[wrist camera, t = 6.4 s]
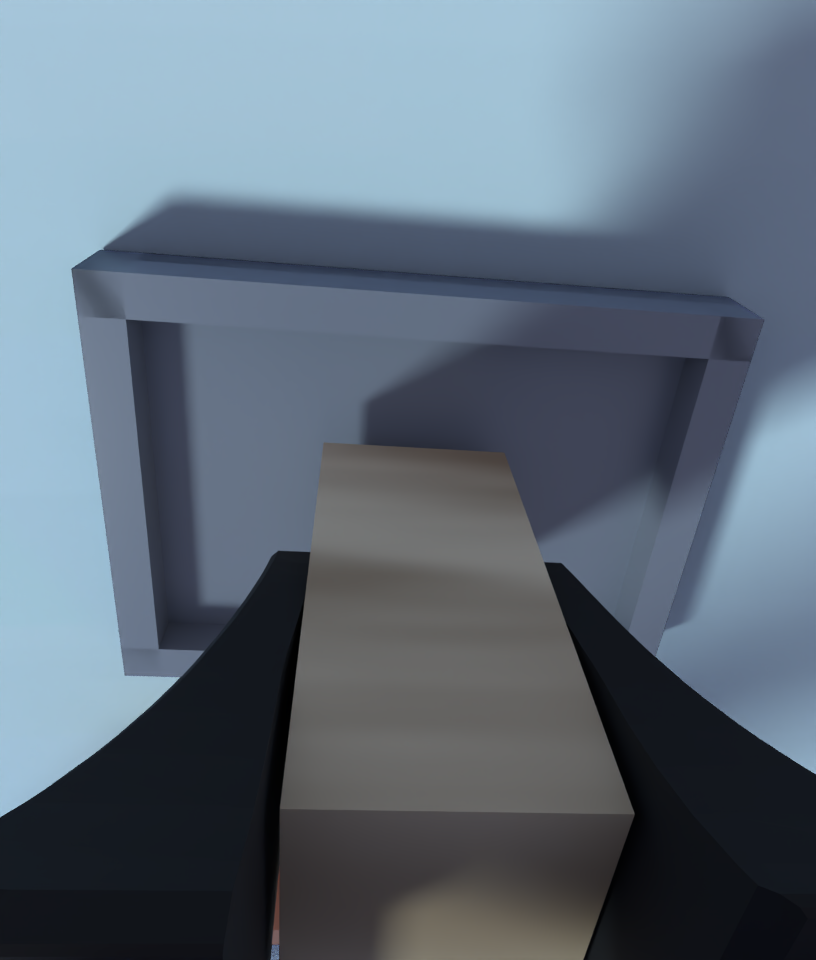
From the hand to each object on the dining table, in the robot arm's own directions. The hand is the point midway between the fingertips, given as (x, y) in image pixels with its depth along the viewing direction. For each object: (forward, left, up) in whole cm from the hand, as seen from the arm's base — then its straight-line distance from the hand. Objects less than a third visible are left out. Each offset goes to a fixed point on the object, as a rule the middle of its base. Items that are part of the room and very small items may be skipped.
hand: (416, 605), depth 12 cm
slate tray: (0, 0, -4) cm, 4 cm away
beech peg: (0, 0, -3) cm, 3 cm away
